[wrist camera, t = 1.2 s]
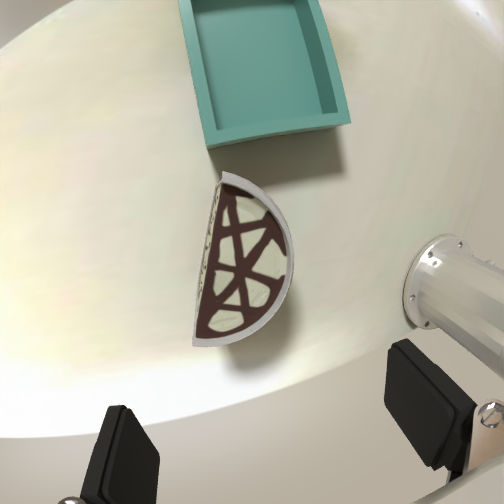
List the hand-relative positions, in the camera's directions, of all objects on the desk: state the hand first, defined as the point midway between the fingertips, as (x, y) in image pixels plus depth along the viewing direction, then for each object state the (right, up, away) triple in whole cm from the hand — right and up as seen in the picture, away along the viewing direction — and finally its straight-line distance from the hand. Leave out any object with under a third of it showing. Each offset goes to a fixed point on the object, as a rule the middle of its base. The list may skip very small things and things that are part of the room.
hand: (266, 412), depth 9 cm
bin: (0, +24, +15) cm, 29 cm away
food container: (-2, +6, +20) cm, 21 cm away
